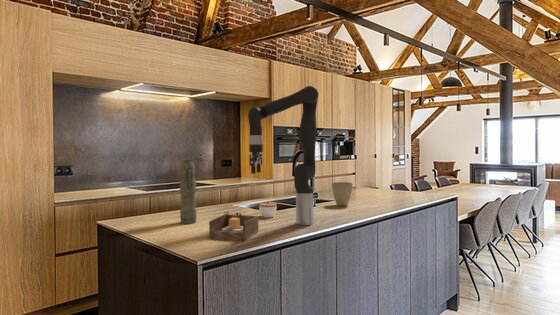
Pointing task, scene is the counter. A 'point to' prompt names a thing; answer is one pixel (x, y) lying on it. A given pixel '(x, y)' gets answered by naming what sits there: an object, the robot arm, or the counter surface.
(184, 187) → the thermos
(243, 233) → the inlet box
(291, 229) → the counter surface
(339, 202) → the plant pot
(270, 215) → the lidded jar
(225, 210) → the valve
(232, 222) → the orange rectangular block
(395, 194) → the counter surface
